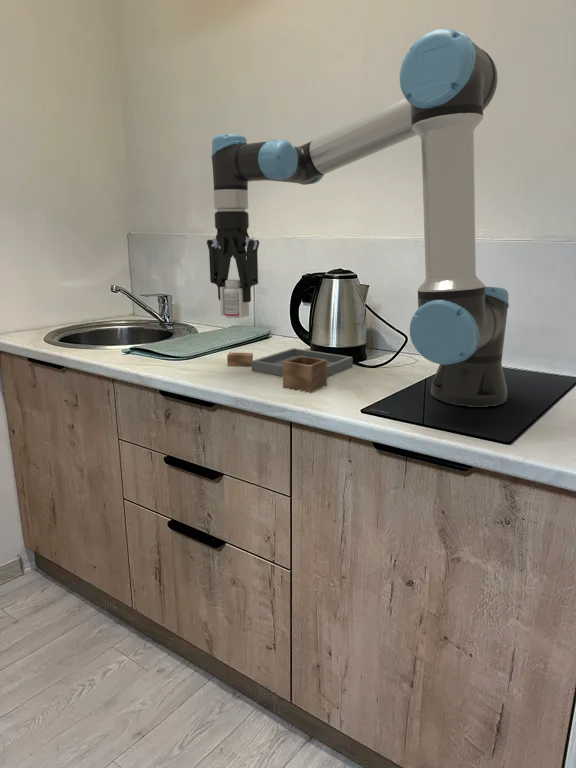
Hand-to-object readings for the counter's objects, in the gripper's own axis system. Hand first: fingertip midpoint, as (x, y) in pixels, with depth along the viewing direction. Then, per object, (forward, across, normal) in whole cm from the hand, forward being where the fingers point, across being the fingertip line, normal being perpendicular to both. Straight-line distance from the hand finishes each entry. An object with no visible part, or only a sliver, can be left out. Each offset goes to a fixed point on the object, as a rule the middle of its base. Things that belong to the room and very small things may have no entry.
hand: (234, 315), depth 133 cm
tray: (+14, -10, -13) cm, 22 cm away
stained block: (+14, +5, -7) cm, 16 cm away
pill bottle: (+1, 0, 0) cm, 1 cm away
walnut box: (+14, -19, 0) cm, 24 cm away
